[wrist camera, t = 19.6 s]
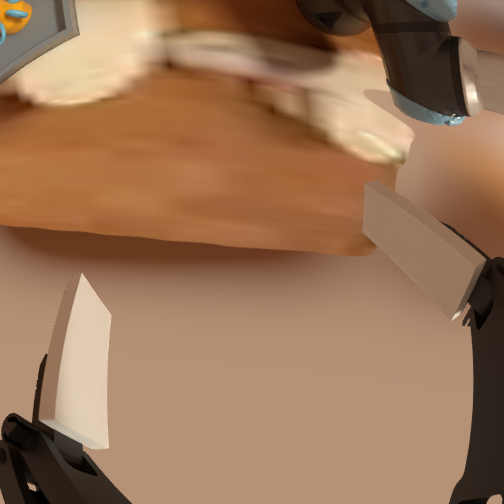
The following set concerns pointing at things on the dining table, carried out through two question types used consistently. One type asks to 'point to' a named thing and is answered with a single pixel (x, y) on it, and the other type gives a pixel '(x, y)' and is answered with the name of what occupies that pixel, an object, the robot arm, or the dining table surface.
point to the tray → (38, 34)
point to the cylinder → (13, 16)
